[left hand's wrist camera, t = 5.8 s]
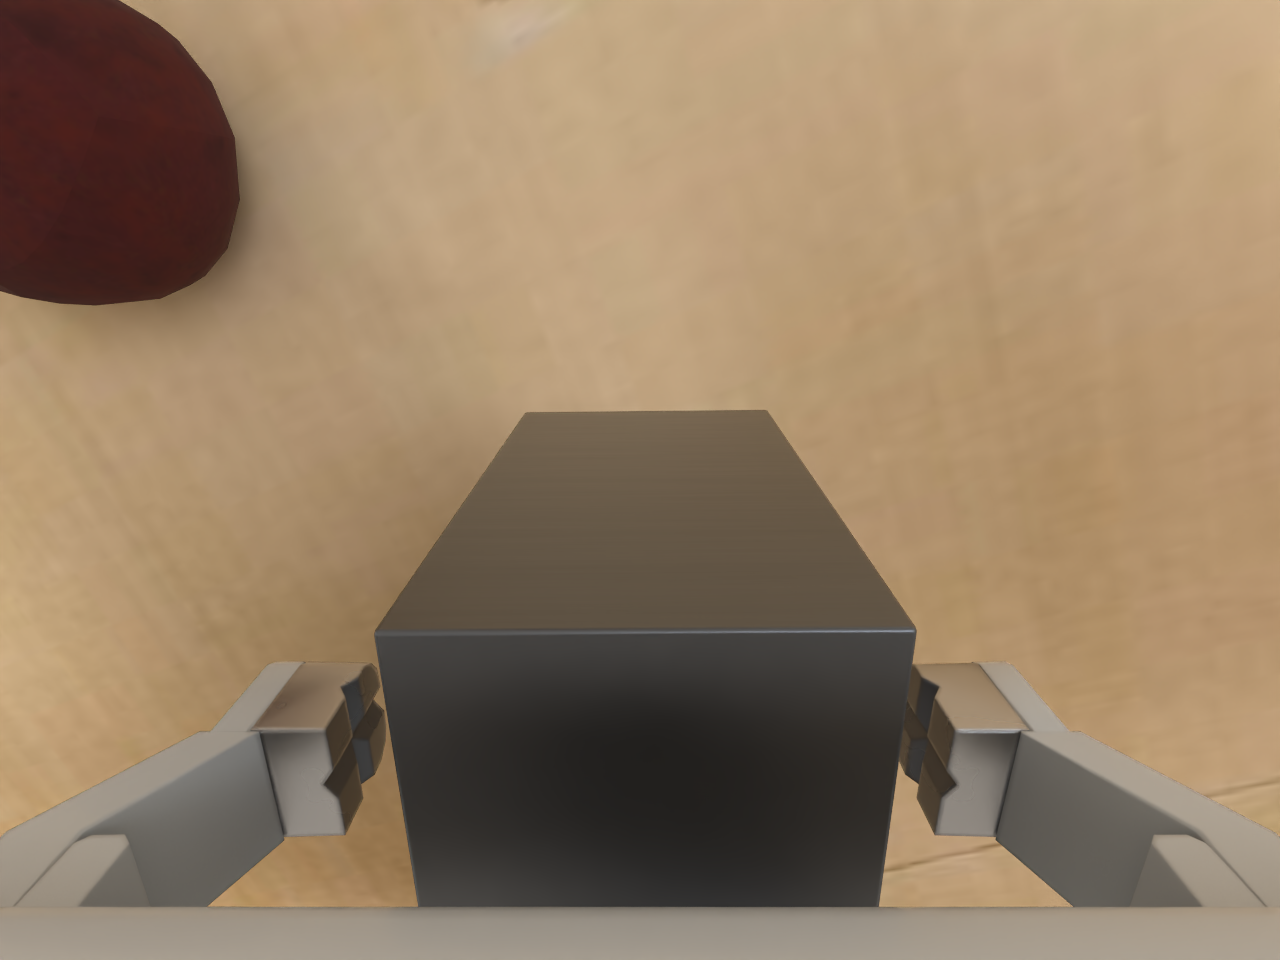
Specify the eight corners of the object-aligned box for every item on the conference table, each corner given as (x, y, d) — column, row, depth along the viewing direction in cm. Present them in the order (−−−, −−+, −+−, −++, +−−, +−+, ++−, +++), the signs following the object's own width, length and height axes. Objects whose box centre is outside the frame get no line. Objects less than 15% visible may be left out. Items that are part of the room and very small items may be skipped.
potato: (-12, 178, 21) (-322, 153, 14) (115, -49, 19) (-175, -203, 12) (202, 347, 22) (15, 396, 16) (340, 154, 20) (193, 118, 14)
